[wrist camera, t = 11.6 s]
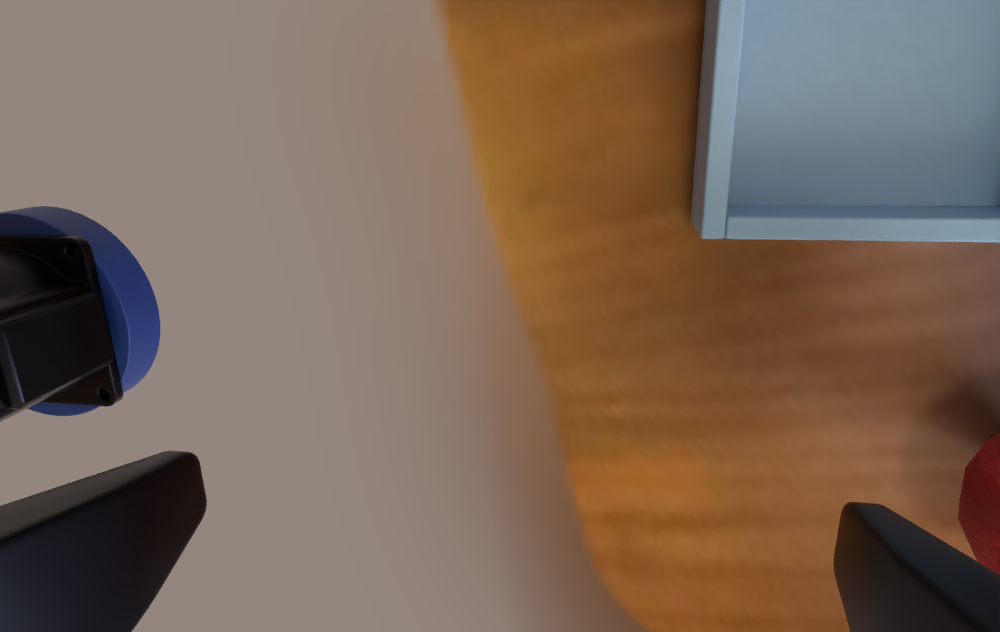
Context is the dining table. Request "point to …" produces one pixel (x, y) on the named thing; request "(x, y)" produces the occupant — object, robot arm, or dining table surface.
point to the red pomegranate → (983, 504)
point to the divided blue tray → (849, 121)
